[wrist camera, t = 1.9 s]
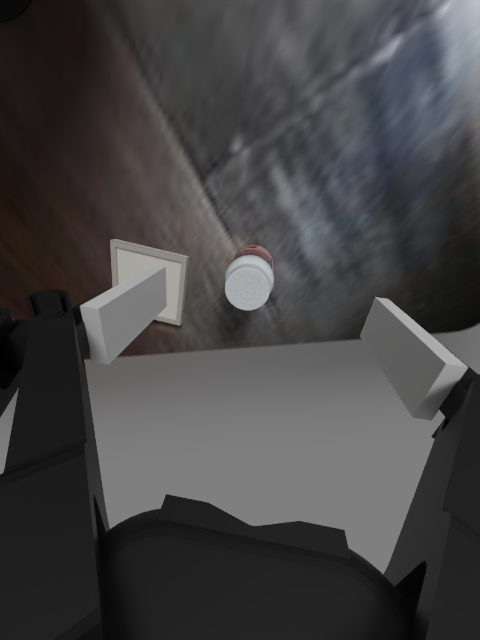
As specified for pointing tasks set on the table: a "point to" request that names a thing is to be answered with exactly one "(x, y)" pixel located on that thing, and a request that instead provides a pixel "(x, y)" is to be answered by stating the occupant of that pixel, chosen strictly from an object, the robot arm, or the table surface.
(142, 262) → the coaster
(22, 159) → the table surface
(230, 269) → the pill bottle
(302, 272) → the table surface
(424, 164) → the table surface
